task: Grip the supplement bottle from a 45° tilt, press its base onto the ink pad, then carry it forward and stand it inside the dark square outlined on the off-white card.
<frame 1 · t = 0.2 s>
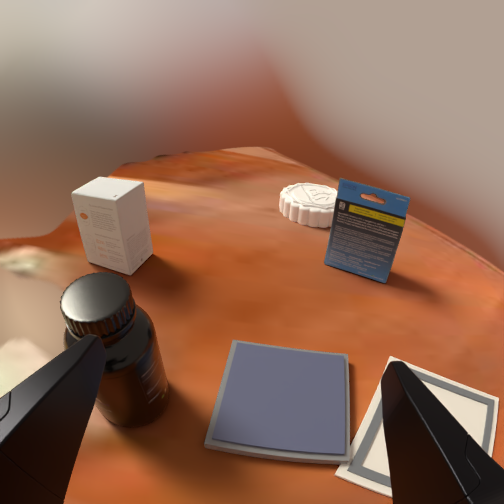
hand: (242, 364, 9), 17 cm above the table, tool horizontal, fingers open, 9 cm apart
supplement bottle: (133, 397, 25), on the table
label tape cartridge: (356, 268, 42), on the table
ink pad: (283, 402, 25), on the table
small box: (120, 259, 42), on the table
mooncake: (312, 213, 56), on the table
marked card: (433, 436, 21), on the table
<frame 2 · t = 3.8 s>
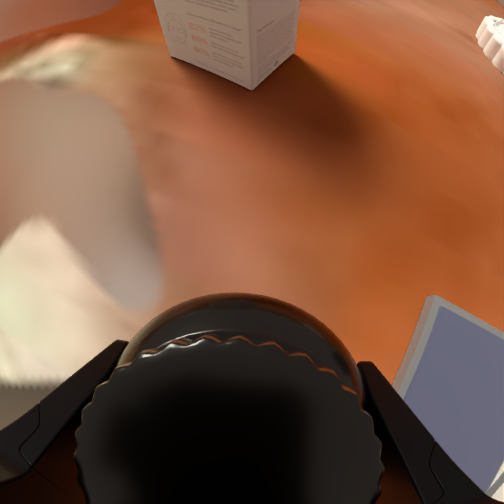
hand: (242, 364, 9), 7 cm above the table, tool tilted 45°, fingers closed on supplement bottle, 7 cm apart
supplement bottle: (244, 379, 15), on the table, touching gripper
ink pad: (458, 416, 14), on the table
small box: (230, 54, 21), on the table
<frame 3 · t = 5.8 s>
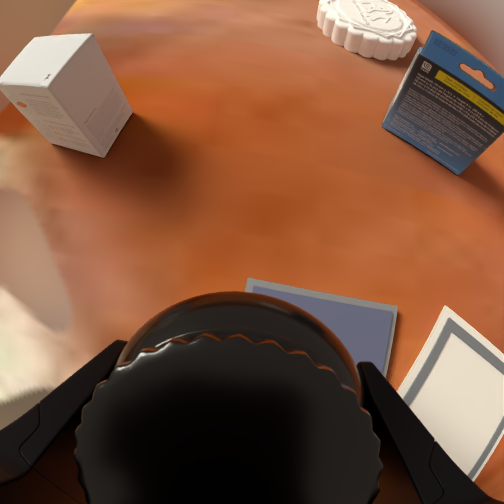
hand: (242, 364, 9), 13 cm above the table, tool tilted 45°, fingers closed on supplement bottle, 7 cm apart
supplement bottle: (243, 378, 15), point 6 cm above the table, touching gripper
label tape cartridge: (423, 139, 26), on the table
ink pad: (309, 370, 21), on the table
small box: (90, 129, 27), on the table
mooncake: (364, 32, 31), on the table
marked card: (456, 418, 20), on the table
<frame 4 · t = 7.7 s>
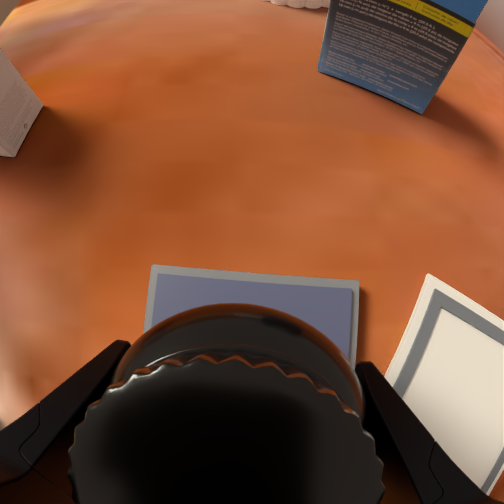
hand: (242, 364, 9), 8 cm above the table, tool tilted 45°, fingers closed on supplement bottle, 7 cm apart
supplement bottle: (244, 385, 15), point 1 cm above the table, touching gripper, ink pad
label tape cartridge: (372, 80, 22), on the table
ink pad: (246, 378, 16), on the table
small box: (6, 131, 21), on the table
marked card: (462, 418, 15), on the table
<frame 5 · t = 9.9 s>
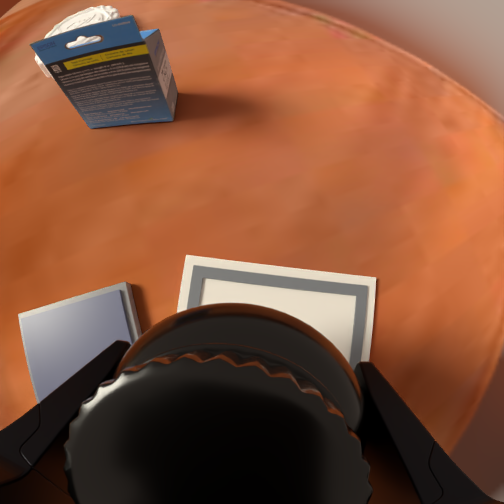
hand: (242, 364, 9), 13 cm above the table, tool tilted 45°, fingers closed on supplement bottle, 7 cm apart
supplement bottle: (249, 384, 15), point 7 cm above the table, touching gripper
label tape cartridge: (133, 111, 27), on the table
ink pad: (86, 368, 21), on the table
mooncake: (83, 48, 31), on the table
marked card: (270, 365, 22), on the table
when the fingers open (8 cm above the table, at t = 11.9 s): supplement bottle stays where it is, resting on marked card.
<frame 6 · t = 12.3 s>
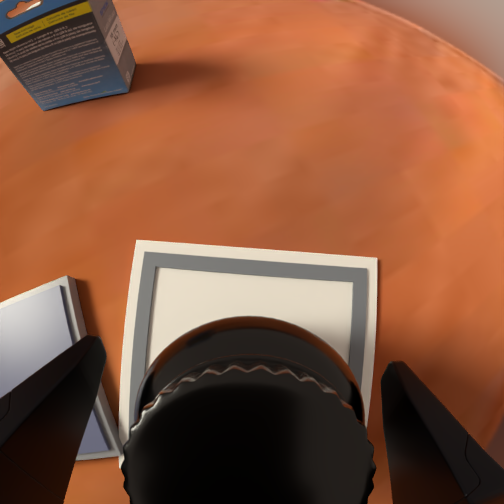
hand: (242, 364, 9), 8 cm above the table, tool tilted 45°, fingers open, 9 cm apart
supplement bottle: (251, 385, 16), resting on marked card
label tape cartridge: (88, 88, 22), on the table
ink pad: (32, 380, 16), on the table
marked card: (245, 376, 16), on the table
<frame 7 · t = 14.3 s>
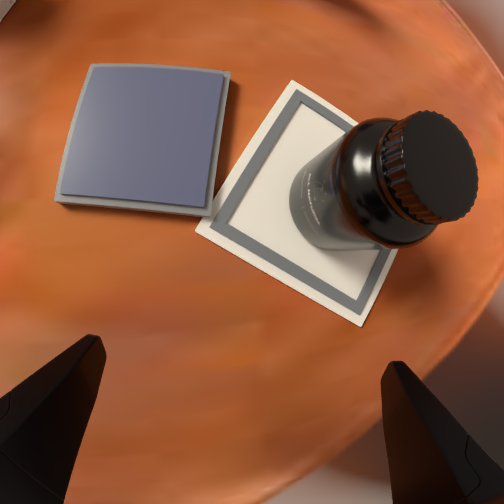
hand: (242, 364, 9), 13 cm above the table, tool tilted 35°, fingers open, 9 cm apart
supplement bottle: (330, 205, 23), resting on marked card
ink pad: (143, 134, 21), on the table
marked card: (328, 198, 23), on the table
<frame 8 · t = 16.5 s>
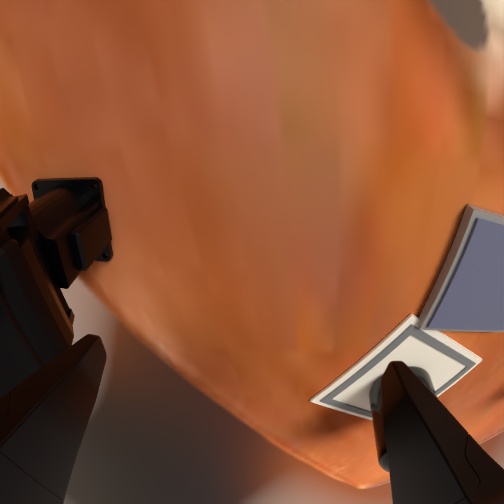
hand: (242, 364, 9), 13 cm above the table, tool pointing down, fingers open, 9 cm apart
supplement bottle: (397, 383, 29), resting on marked card
ink pad: (488, 275, 22), on the table
marked card: (402, 381, 29), on the table
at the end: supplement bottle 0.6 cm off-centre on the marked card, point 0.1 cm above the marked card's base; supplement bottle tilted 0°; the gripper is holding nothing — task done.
